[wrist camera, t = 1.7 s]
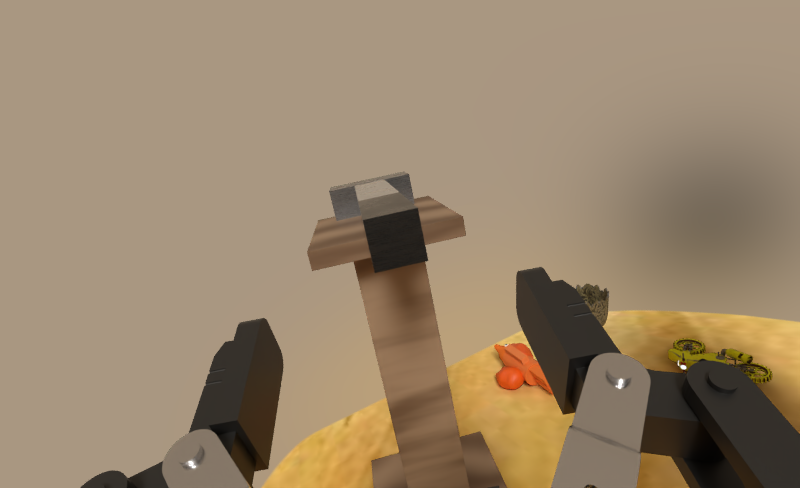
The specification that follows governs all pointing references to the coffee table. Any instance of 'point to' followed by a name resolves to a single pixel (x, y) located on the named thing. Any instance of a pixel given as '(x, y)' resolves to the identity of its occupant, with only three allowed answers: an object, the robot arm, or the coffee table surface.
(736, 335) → the coffee table surface
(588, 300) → the cup
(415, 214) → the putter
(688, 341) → the toy motorcycle
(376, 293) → the stand
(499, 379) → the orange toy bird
